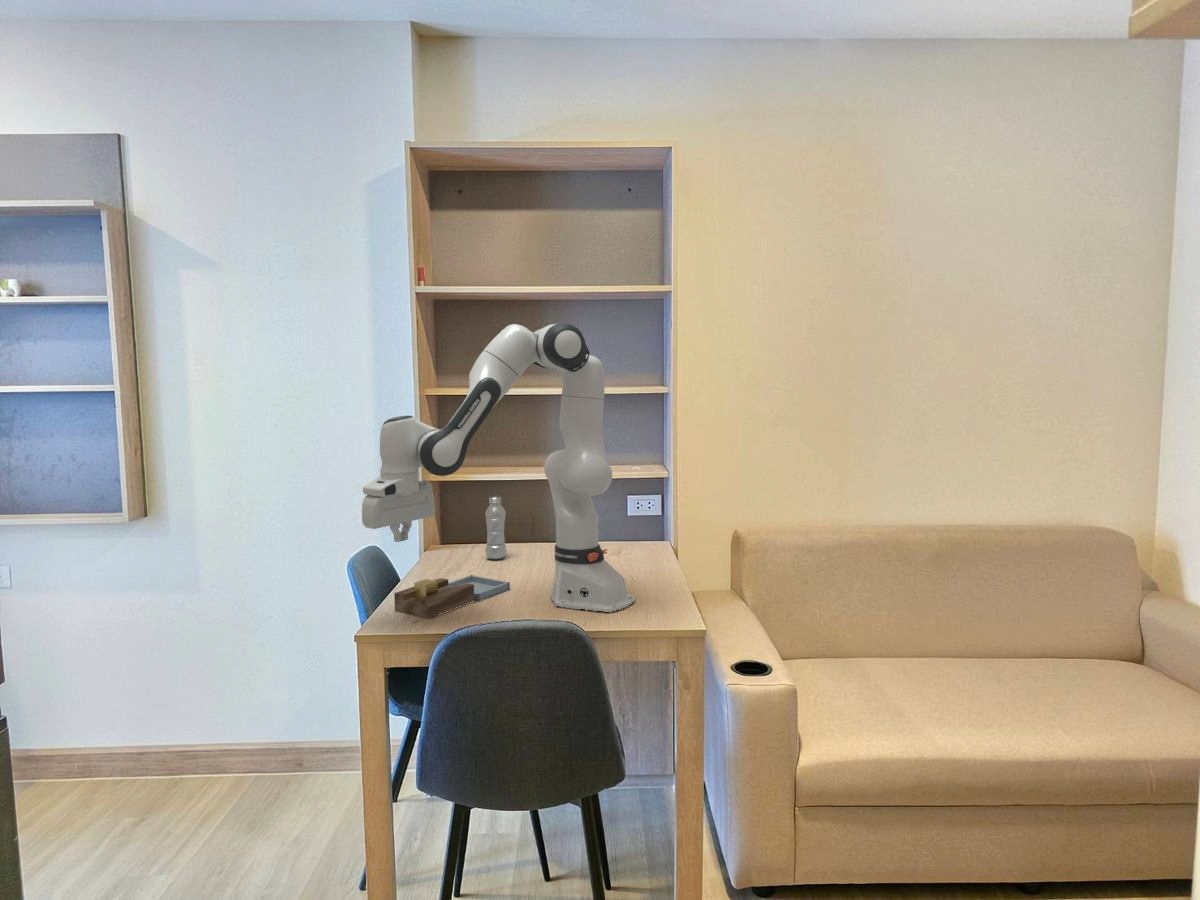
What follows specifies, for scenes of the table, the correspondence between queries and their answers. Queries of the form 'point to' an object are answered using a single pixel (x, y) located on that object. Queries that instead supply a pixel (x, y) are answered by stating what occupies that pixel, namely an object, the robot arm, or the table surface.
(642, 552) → the table surface
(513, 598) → the table surface
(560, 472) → the robot arm
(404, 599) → the slotted board
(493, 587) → the tray
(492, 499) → the plastic bottle
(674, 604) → the table surface
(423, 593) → the brass block
